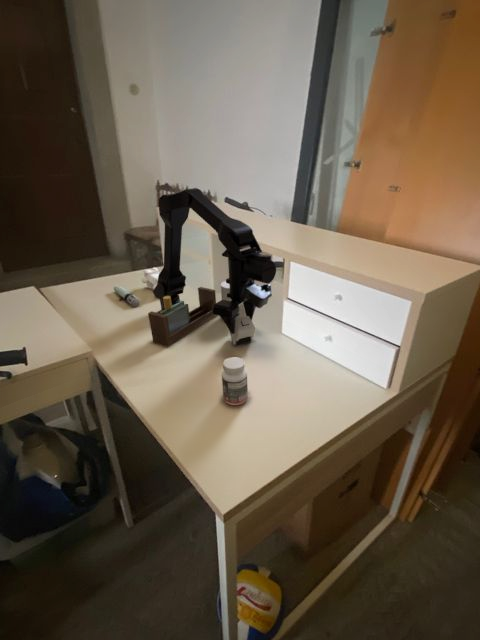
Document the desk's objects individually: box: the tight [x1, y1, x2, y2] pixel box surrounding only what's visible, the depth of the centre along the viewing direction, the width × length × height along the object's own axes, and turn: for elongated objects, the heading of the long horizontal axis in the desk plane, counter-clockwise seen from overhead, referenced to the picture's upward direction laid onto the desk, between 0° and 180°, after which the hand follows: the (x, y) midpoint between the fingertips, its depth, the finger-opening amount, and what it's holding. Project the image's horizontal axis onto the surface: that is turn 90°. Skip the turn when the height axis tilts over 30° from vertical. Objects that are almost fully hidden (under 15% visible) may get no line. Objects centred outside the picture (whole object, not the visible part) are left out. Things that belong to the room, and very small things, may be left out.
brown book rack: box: [147, 286, 218, 348], centre depth 110 cm, size 6×24×10 cm, turn 150°
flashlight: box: [113, 285, 141, 308], centre depth 132 cm, size 3×4×20 cm
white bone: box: [141, 267, 160, 291], centre depth 137 cm, size 15×9×8 cm, turn 37°
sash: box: [160, 296, 185, 315], centre depth 106 cm, size 2×10×10 cm, turn 150°
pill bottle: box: [221, 356, 249, 406], centre depth 79 cm, size 6×6×10 cm
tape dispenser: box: [229, 316, 256, 346], centre depth 102 cm, size 6×7×10 cm
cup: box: [220, 280, 246, 319], centre depth 116 cm, size 8×8×12 cm
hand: (241, 326), depth 102 cm, fingers open, 9 cm apart
